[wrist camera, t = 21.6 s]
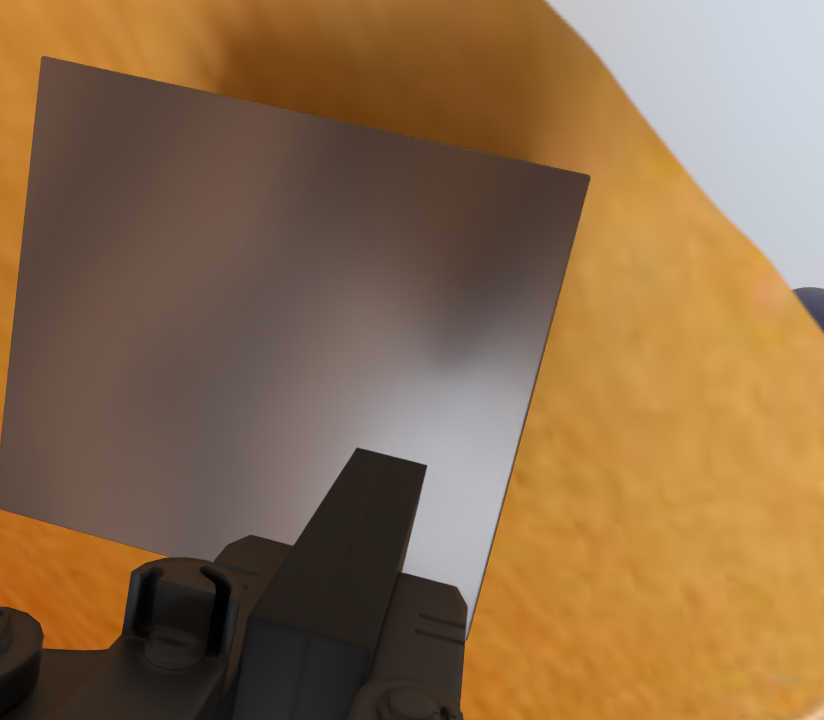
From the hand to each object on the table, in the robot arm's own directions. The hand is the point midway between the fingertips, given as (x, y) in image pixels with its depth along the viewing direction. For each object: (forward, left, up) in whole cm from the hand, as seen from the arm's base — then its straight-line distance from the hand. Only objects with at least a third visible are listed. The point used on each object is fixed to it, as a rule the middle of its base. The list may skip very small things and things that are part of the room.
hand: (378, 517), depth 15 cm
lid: (+6, 0, -11) cm, 12 cm away
